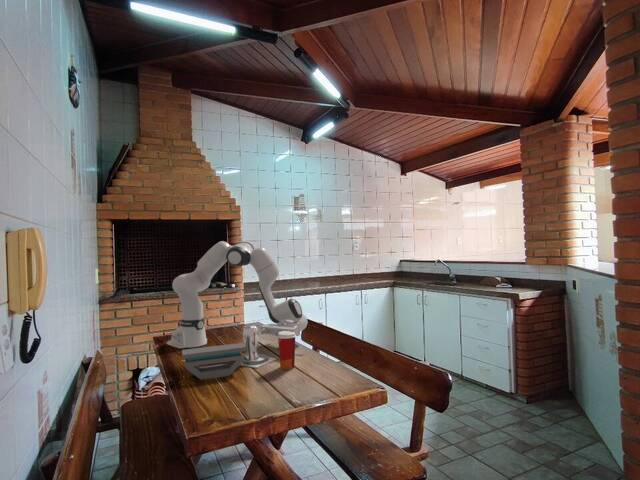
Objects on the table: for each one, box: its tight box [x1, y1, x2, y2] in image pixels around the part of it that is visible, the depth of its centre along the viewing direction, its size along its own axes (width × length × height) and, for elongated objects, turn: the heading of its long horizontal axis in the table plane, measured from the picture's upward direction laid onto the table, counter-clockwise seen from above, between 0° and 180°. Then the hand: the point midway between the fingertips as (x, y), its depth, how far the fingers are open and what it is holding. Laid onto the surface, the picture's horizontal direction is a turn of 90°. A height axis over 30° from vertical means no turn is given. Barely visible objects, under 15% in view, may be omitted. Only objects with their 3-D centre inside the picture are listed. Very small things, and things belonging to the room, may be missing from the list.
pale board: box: [239, 356, 278, 369], centre depth 175 cm, size 14×14×1 cm
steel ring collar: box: [242, 353, 270, 365], centre depth 175 cm, size 12×12×1 cm
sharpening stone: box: [181, 342, 246, 381], centre depth 159 cm, size 25×8×11 cm, turn 112°
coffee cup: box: [276, 331, 297, 371], centre depth 166 cm, size 8×8×15 cm
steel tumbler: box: [242, 325, 260, 361], centre depth 176 cm, size 7×7×15 cm
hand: (269, 333), depth 184 cm, fingers open, 8 cm apart
